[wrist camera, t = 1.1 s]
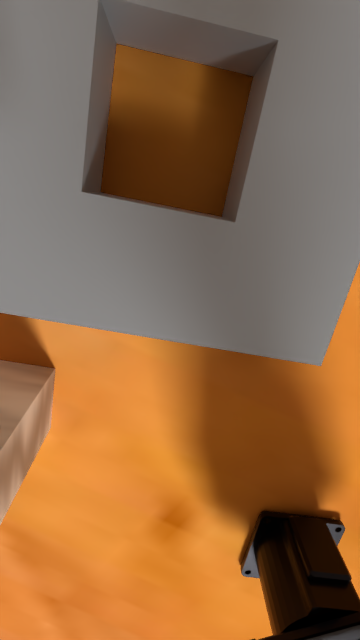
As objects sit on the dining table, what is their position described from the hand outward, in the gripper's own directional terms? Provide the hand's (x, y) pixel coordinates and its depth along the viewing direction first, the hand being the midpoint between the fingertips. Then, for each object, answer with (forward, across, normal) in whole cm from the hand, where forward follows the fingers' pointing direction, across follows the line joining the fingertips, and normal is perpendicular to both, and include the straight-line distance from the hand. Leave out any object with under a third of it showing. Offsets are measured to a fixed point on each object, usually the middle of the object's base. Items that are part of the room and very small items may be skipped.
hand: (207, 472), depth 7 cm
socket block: (+13, +2, -8) cm, 15 cm away
